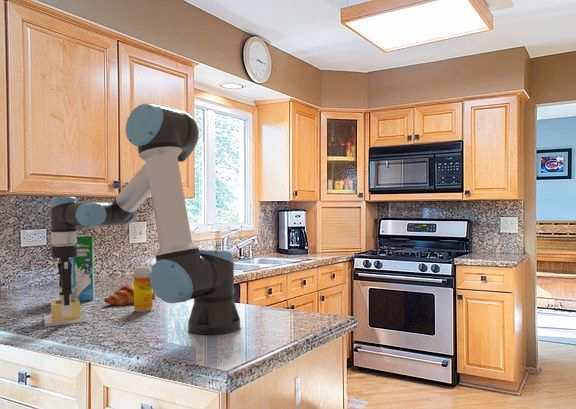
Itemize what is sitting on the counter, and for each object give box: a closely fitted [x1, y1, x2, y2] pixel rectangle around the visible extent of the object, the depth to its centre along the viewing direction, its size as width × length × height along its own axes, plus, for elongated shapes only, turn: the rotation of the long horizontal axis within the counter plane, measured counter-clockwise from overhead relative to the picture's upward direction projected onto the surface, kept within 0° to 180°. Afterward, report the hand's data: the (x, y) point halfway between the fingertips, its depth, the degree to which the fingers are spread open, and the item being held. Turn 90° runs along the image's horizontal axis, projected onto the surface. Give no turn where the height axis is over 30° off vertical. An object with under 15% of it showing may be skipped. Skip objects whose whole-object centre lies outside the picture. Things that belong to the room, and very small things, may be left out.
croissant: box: [104, 284, 157, 306], centre depth 181 cm, size 21×10×8 cm, turn 138°
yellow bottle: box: [133, 265, 154, 313], centre depth 166 cm, size 6×6×15 cm
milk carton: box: [69, 234, 96, 302], centre depth 188 cm, size 9×9×25 cm
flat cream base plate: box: [43, 302, 88, 328], centre depth 153 cm, size 12×12×6 cm
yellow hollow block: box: [50, 298, 81, 321], centre depth 153 cm, size 8×8×5 cm
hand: (65, 311), depth 153 cm, fingers open, 13 cm apart
